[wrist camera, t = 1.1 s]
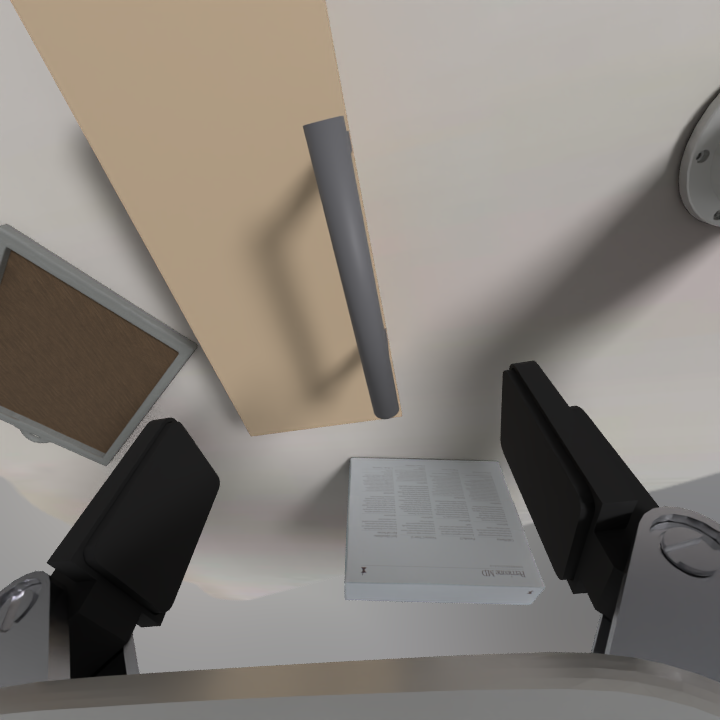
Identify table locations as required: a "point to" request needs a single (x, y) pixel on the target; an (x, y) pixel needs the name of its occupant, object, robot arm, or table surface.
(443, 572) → the skincare box
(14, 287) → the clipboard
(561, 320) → the table surface
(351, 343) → the lid
